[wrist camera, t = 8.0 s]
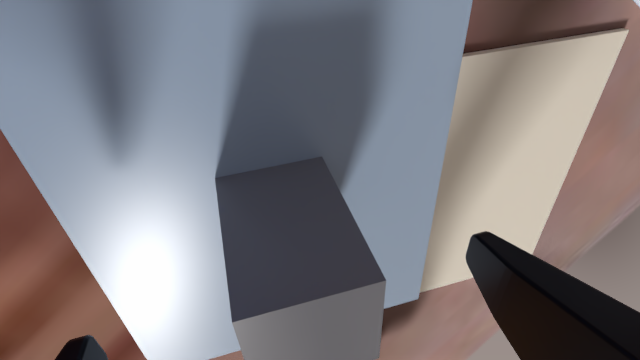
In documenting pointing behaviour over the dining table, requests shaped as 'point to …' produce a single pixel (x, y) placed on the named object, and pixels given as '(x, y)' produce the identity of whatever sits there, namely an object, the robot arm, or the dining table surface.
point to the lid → (239, 160)
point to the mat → (513, 143)
